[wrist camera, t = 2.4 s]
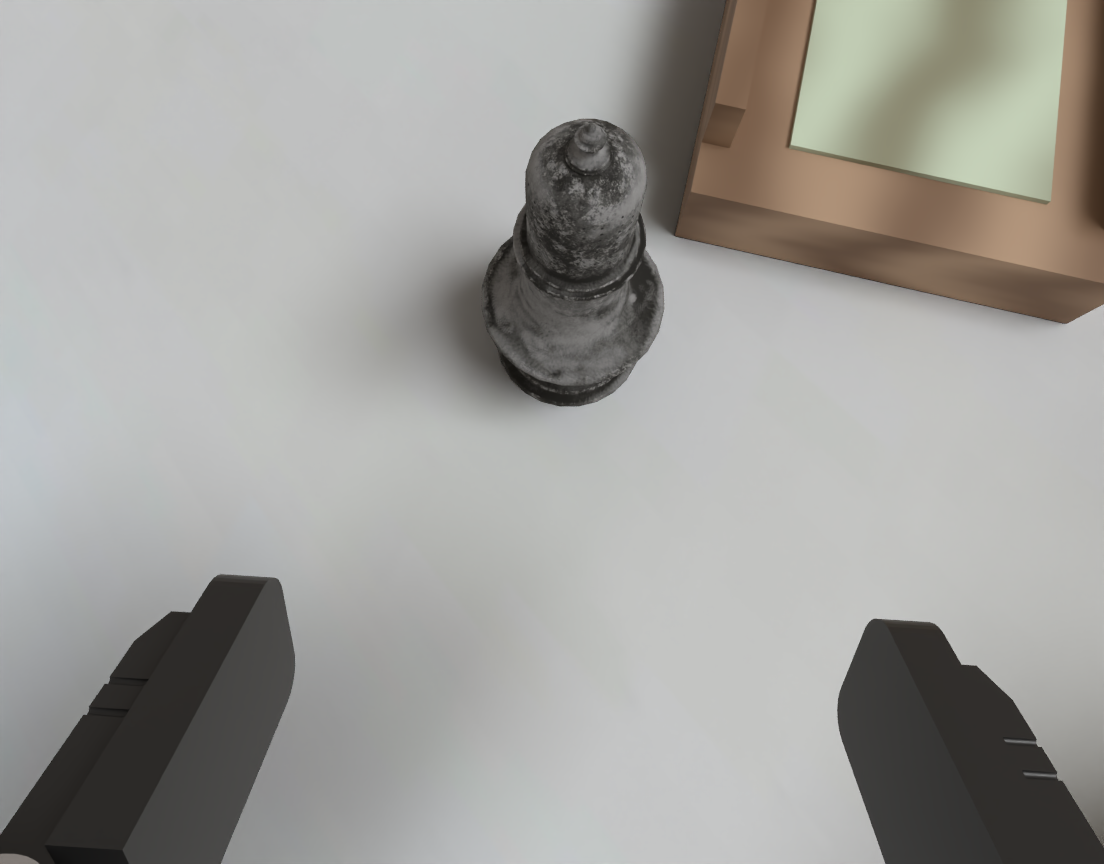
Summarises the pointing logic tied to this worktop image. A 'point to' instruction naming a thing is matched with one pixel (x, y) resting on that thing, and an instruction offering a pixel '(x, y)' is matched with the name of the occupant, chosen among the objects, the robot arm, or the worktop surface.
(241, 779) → the robot arm
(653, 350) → the worktop surface
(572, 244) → the salt shaker
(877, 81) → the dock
